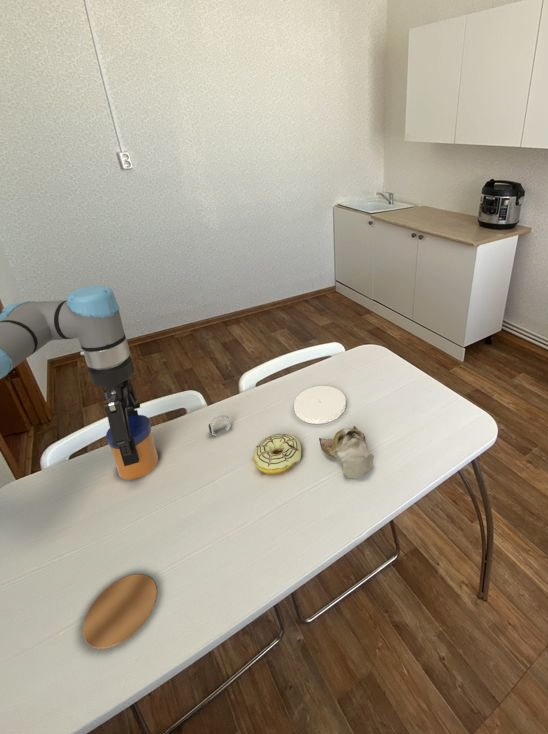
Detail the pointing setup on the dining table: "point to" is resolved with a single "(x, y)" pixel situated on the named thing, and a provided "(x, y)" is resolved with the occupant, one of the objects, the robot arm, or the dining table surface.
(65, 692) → the dining table surface
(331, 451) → the ceramic sculpture
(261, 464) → the decorated donut
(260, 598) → the dining table surface
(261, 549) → the dining table surface
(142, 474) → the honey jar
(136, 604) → the wooden coaster
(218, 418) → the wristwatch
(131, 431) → the jar lid
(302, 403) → the plastic lid
